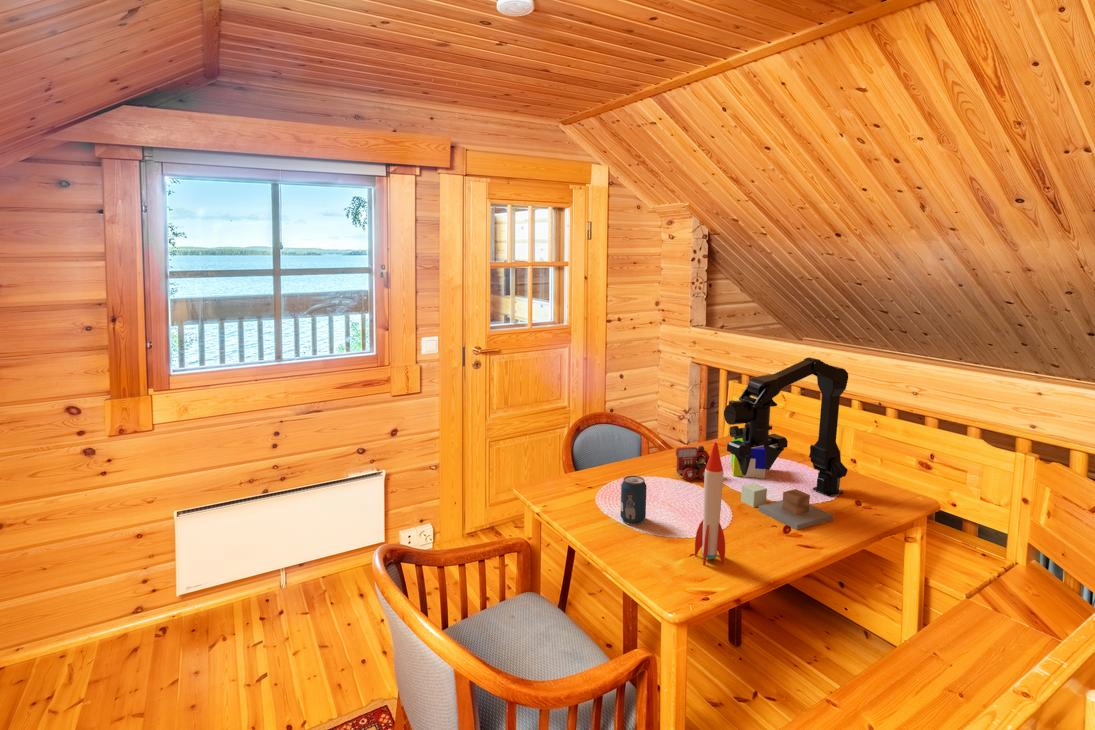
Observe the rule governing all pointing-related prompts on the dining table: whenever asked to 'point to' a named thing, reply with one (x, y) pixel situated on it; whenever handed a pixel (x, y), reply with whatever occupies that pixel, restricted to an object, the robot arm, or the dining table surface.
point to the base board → (793, 520)
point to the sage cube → (753, 494)
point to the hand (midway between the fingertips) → (755, 472)
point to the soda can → (633, 500)
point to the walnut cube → (795, 501)
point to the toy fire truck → (691, 462)
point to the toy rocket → (712, 511)
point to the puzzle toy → (751, 463)
